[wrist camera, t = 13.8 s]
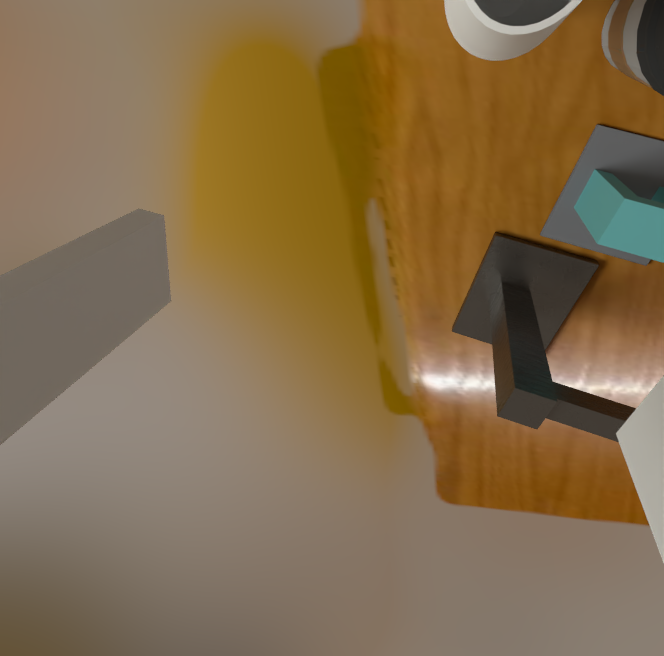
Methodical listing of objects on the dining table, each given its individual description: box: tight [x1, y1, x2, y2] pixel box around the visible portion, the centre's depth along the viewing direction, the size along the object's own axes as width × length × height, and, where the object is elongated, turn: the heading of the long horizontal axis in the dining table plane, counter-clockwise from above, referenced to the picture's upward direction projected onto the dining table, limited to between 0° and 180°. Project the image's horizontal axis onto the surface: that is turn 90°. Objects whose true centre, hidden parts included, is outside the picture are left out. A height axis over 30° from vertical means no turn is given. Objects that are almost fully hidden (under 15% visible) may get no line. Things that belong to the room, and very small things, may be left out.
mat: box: [540, 124, 664, 266], centre depth 38 cm, size 10×10×1 cm
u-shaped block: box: [574, 169, 664, 263], centre depth 34 cm, size 7×4×9 cm, turn 78°
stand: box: [452, 232, 636, 442], centre depth 38 cm, size 12×16×18 cm
